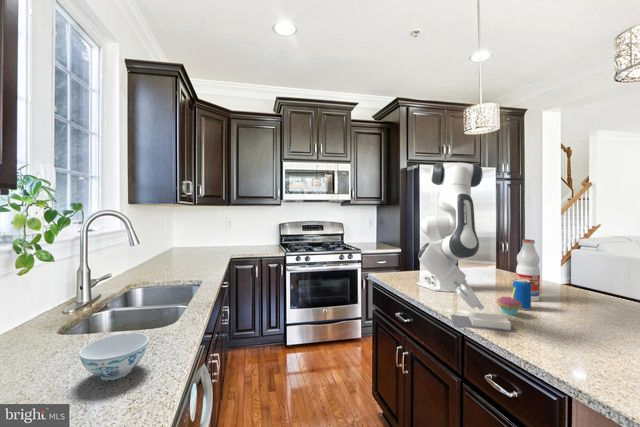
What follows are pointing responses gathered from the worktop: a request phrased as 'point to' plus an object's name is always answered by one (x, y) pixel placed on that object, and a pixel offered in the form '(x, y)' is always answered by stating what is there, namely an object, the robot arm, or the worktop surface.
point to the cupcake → (509, 304)
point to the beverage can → (523, 292)
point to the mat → (465, 322)
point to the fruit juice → (529, 267)
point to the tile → (489, 320)
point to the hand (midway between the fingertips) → (481, 307)
